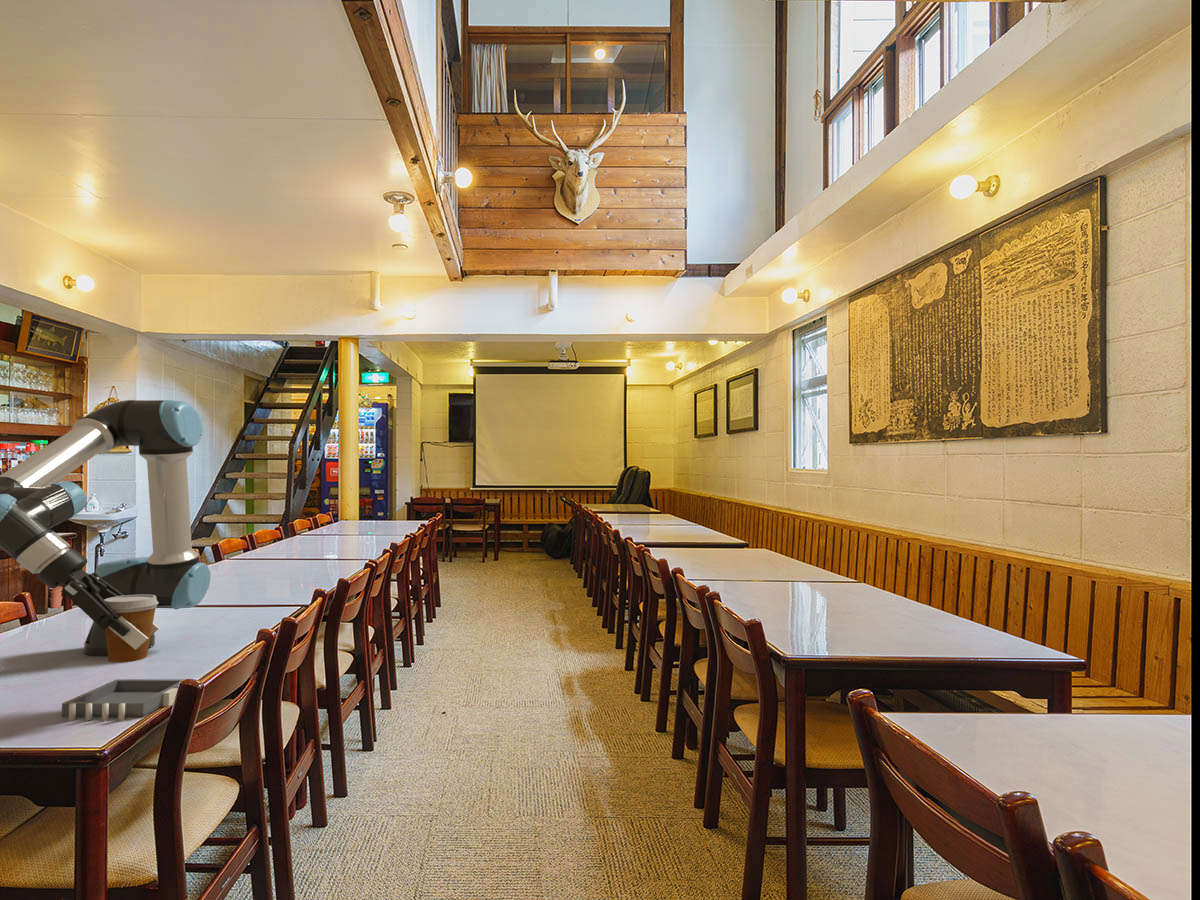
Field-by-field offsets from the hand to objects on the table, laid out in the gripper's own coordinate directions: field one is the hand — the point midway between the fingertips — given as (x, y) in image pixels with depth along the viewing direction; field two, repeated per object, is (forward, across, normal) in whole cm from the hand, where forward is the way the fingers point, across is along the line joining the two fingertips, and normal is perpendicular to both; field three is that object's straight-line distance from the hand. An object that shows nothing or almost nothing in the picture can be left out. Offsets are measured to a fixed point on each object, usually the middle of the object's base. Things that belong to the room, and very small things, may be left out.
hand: (148, 638), depth 137 cm
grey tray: (+7, +1, -11) cm, 13 cm away
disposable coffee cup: (0, 0, -5) cm, 5 cm away
